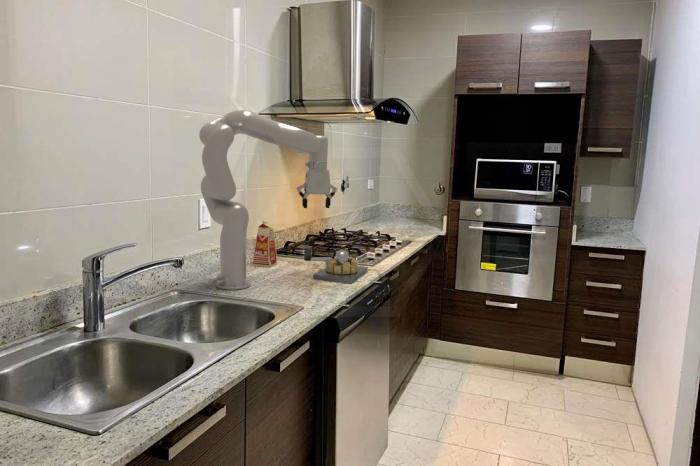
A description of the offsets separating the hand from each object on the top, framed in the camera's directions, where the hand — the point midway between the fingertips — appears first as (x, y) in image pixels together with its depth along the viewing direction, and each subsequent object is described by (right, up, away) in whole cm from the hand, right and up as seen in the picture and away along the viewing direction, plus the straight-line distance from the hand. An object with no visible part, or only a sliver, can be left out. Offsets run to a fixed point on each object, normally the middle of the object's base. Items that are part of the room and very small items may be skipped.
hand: (316, 208), depth 214 cm
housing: (+10, -28, +2) cm, 30 cm away
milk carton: (-24, -25, +17) cm, 38 cm away
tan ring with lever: (+6, -26, +1) cm, 26 cm away
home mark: (+1, -26, +11) cm, 29 cm away
